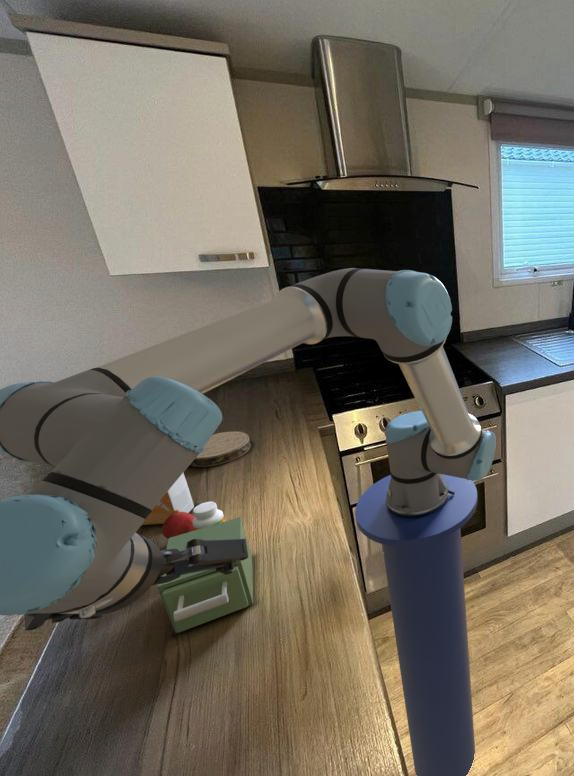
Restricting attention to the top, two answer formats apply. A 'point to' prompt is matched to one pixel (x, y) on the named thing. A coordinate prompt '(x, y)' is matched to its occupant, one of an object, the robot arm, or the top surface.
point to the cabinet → (214, 532)
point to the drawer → (205, 598)
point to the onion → (178, 524)
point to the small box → (171, 502)
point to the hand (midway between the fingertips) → (166, 584)
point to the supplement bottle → (207, 515)
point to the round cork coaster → (223, 449)
